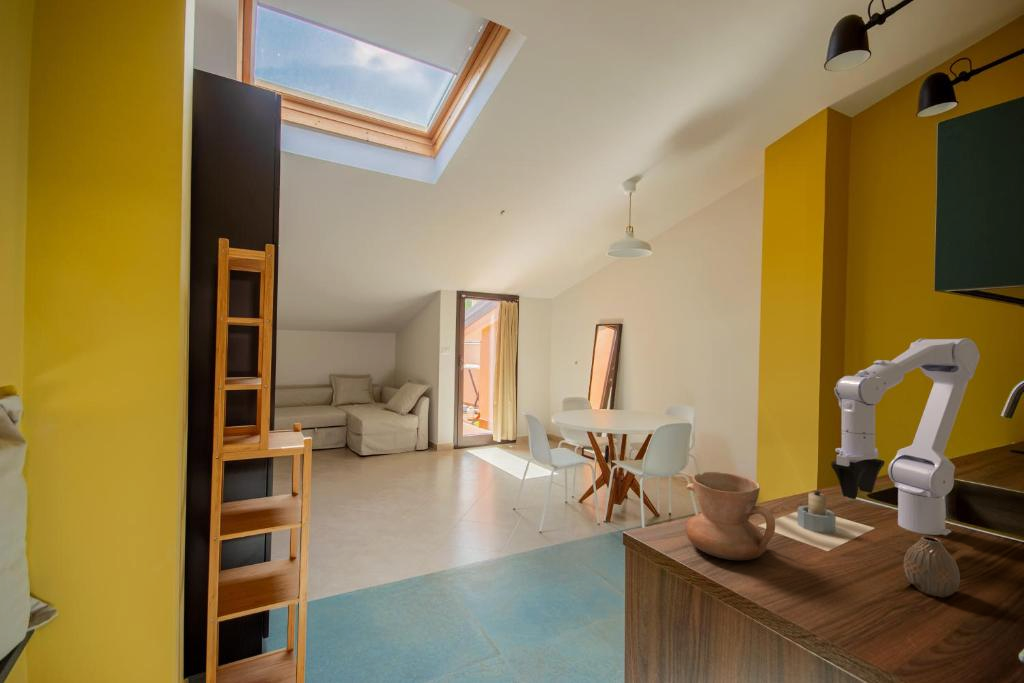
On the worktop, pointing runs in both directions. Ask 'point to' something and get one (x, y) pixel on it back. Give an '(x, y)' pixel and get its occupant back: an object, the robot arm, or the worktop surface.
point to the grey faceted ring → (816, 521)
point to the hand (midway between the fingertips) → (857, 494)
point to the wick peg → (816, 503)
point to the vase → (931, 568)
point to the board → (825, 541)
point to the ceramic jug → (728, 517)
